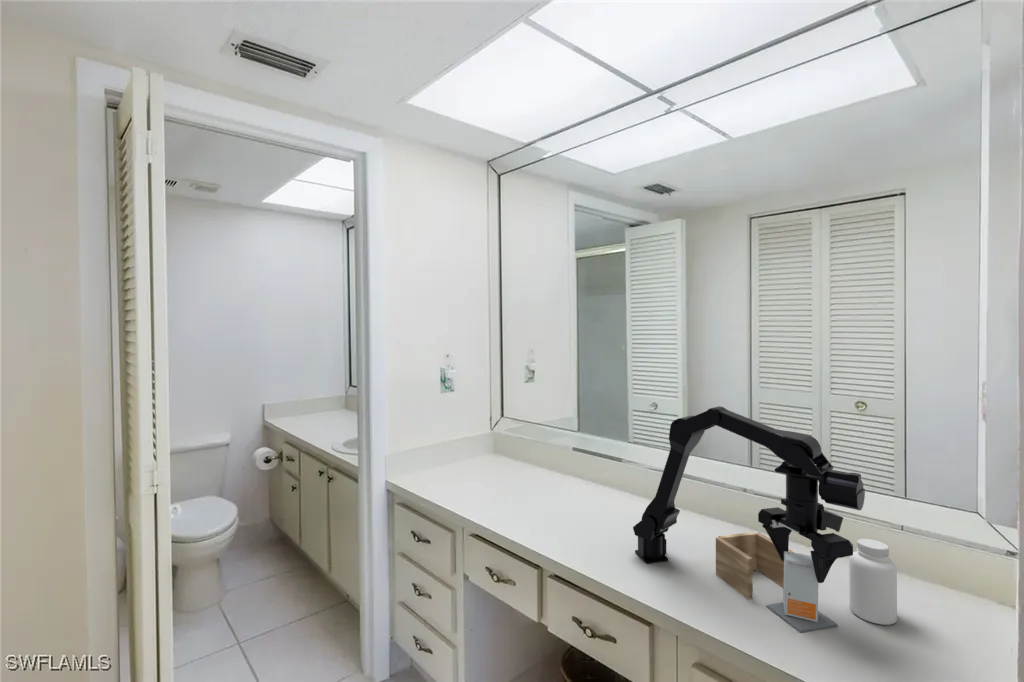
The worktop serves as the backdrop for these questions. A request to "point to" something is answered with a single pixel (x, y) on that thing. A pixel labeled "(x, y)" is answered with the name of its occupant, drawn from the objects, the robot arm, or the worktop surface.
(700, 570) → the worktop surface
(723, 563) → the oak bay
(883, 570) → the pill bottle
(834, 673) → the worktop surface
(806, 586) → the skincare box
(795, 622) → the slate pad
